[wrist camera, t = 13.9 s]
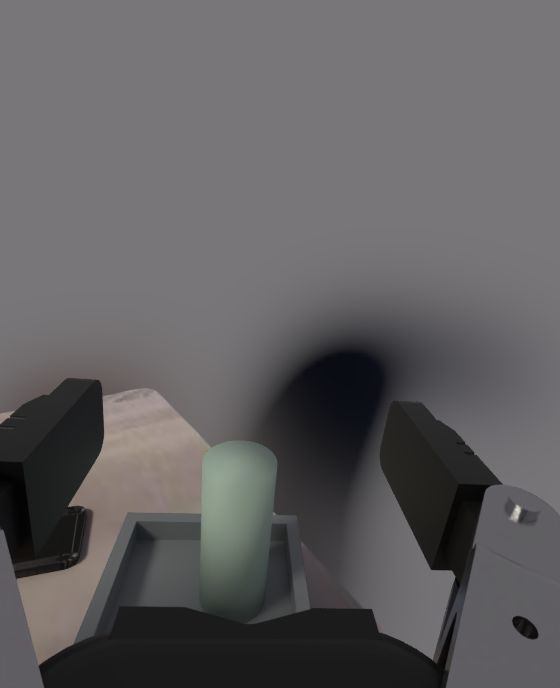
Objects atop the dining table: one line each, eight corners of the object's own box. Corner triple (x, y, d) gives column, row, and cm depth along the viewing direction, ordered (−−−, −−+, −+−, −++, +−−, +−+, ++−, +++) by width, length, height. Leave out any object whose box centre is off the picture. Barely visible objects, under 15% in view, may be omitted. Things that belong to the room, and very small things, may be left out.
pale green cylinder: (195, 626, 27) (197, 485, 24) (203, 565, 32) (206, 439, 28) (266, 625, 28) (279, 486, 24) (263, 565, 33) (274, 441, 29)
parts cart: (76, 740, 25) (66, 661, 23) (130, 576, 37) (127, 512, 34) (304, 733, 27) (317, 657, 24) (288, 577, 38) (296, 515, 36)
